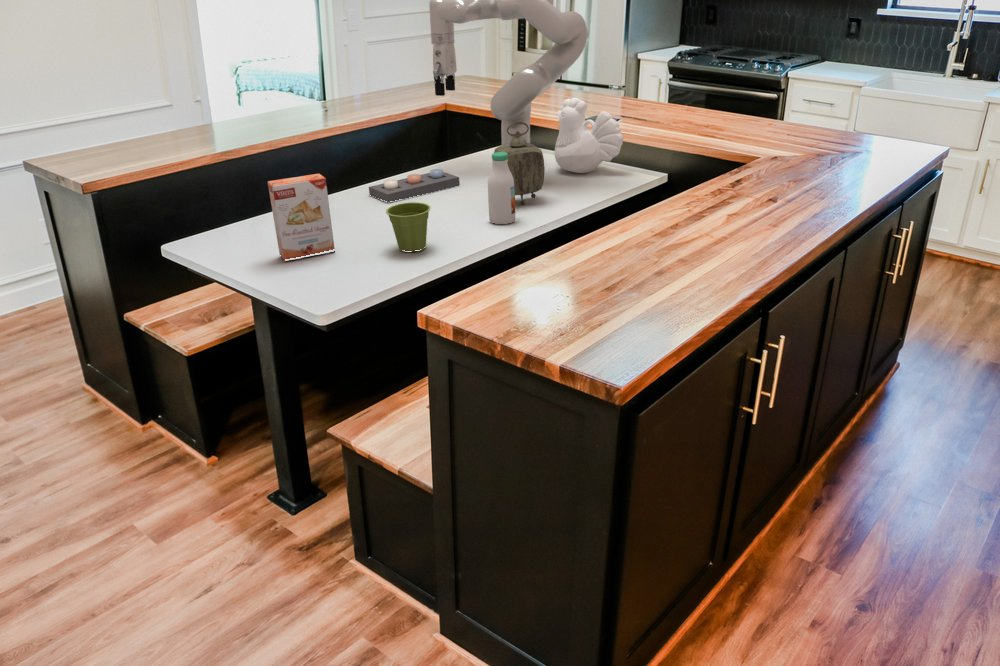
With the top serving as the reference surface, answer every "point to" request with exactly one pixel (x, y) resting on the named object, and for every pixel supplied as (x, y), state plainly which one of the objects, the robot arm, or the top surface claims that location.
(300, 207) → the cracker box
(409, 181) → the terracotta button
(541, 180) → the tabletop clock
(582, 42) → the robot arm
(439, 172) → the slate blue button
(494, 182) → the milk bottle
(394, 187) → the cream button
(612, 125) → the decorative rooster
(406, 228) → the plant pot
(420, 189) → the button panel
